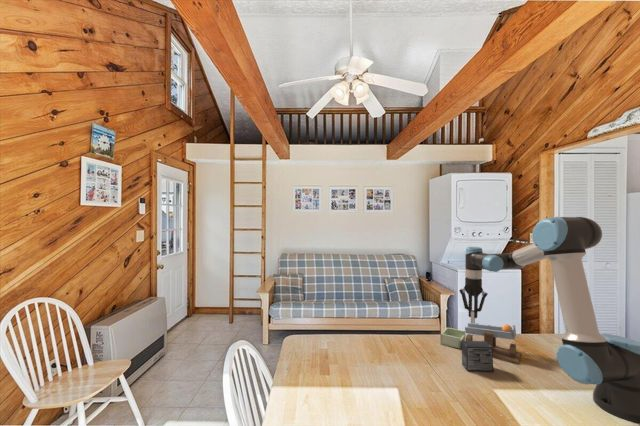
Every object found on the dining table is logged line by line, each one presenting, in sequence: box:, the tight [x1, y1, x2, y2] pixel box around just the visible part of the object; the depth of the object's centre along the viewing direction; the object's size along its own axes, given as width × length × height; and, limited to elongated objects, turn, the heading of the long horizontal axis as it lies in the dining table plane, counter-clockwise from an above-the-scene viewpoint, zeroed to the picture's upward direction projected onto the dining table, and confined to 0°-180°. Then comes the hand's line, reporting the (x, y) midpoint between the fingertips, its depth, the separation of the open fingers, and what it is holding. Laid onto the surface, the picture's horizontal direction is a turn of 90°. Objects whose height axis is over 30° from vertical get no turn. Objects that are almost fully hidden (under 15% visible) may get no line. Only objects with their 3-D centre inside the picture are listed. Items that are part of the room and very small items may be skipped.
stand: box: [460, 324, 521, 364], centre depth 143 cm, size 11×23×11 cm, turn 52°
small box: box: [461, 340, 494, 373], centre depth 128 cm, size 11×6×10 cm, turn 84°
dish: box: [440, 326, 466, 350], centre depth 153 cm, size 11×9×5 cm
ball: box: [501, 323, 513, 332], centre depth 138 cm, size 4×4×4 cm
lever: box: [464, 322, 517, 341], centre depth 145 cm, size 14×20×4 cm
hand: (472, 323), depth 154 cm, fingers closed
